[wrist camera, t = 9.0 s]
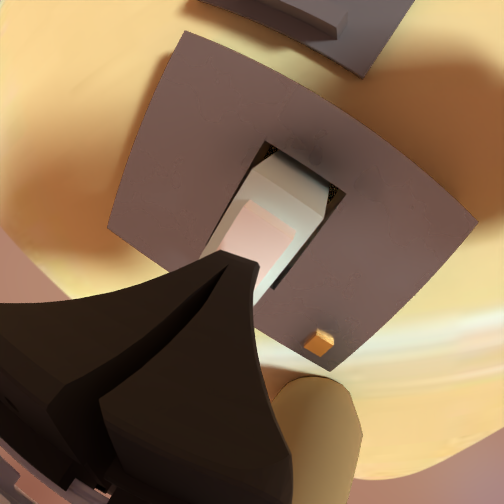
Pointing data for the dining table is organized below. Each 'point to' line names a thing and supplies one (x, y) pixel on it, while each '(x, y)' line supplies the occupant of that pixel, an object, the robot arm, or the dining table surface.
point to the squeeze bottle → (319, 438)
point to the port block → (312, 156)
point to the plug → (272, 216)
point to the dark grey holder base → (329, 25)
